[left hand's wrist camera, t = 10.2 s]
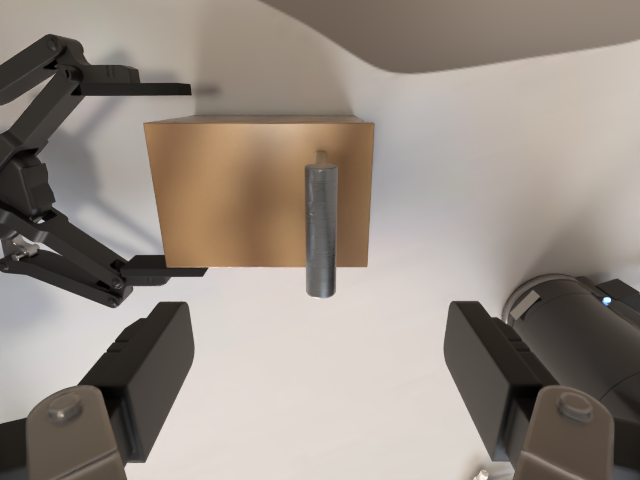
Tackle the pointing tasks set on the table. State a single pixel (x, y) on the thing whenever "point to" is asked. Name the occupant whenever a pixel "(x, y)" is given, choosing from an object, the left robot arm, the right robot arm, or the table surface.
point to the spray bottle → (482, 475)
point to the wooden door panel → (264, 195)
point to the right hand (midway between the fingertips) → (197, 184)
